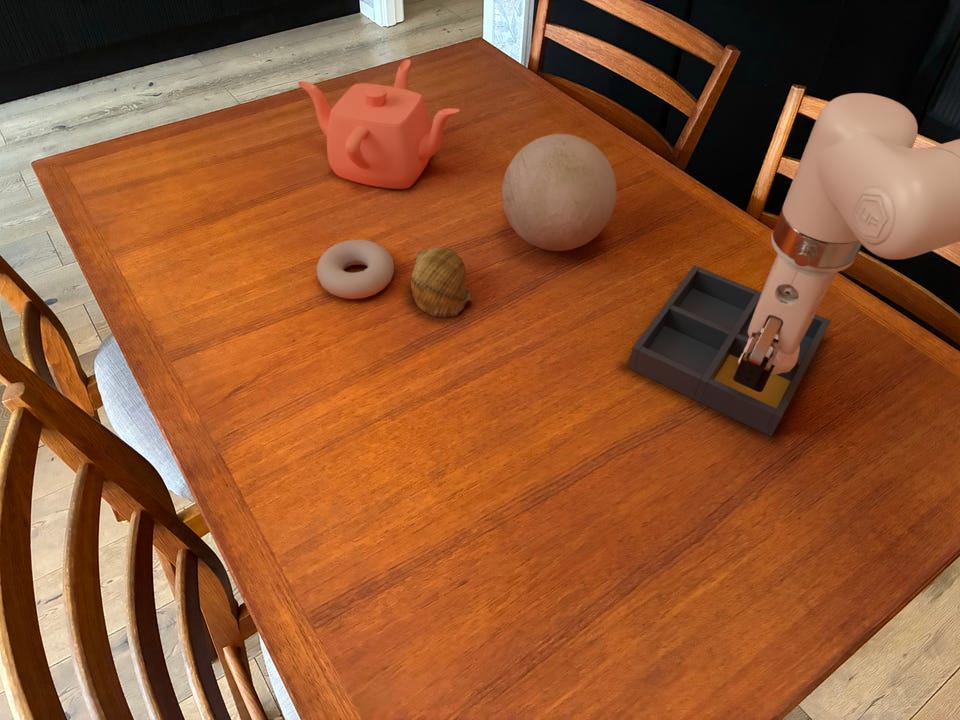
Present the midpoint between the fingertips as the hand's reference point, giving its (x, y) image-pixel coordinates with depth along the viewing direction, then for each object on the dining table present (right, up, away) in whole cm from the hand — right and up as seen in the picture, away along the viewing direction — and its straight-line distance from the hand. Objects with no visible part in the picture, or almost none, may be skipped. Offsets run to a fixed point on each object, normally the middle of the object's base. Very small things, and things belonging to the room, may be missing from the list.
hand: (760, 362), depth 79 cm
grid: (-1, +1, +8) cm, 8 cm away
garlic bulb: (0, -1, +1) cm, 1 cm away
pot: (-45, +31, +34) cm, 65 cm away
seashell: (-35, +9, +14) cm, 39 cm away
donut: (-47, +11, +16) cm, 51 cm away
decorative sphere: (-20, +17, +22) cm, 34 cm away
